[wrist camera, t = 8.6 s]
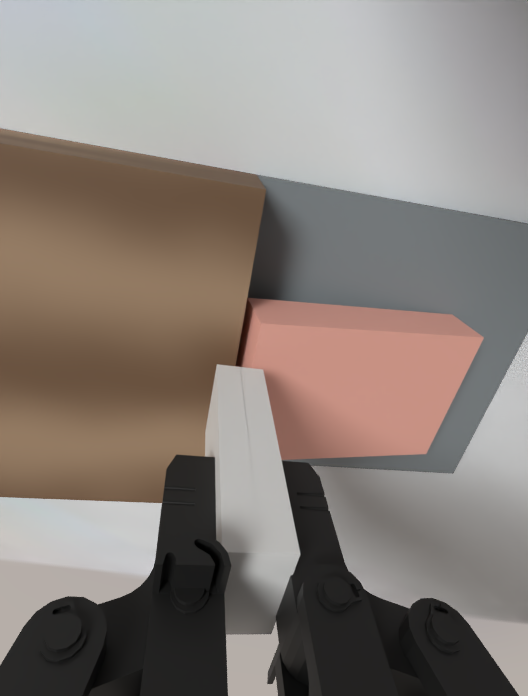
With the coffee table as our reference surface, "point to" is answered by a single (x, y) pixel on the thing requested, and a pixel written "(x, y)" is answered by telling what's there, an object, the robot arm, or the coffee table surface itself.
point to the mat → (401, 285)
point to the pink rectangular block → (355, 375)
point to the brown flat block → (114, 312)
